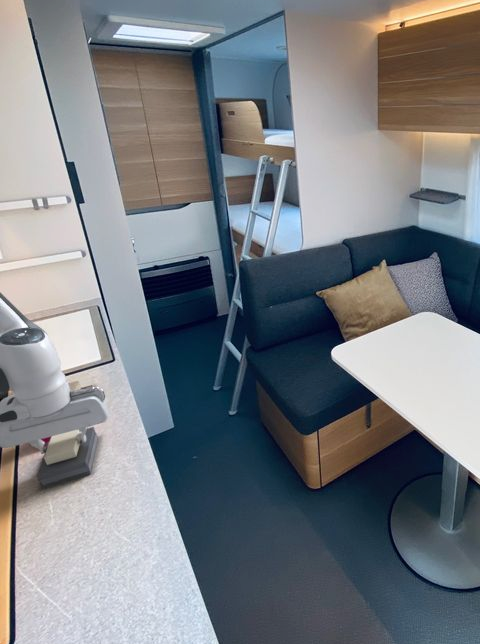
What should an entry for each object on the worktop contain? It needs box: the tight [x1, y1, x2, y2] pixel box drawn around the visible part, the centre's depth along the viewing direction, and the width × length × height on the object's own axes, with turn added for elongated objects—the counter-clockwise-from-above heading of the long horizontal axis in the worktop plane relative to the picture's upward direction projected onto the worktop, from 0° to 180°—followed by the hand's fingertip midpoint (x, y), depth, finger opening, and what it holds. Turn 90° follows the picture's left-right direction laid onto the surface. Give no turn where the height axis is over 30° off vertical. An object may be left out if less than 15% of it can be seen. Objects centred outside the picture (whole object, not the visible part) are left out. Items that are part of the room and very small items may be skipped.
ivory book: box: [43, 429, 81, 465], centre depth 94 cm, size 6×8×2 cm
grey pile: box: [36, 426, 99, 490], centre depth 96 cm, size 9×12×4 cm
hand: (64, 446), depth 94 cm, fingers closed on ivory book, 5 cm apart
